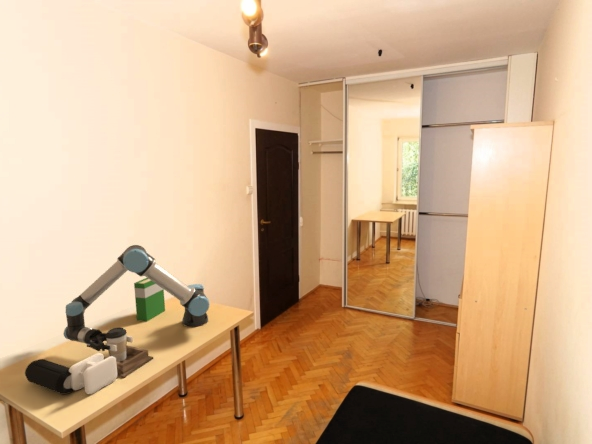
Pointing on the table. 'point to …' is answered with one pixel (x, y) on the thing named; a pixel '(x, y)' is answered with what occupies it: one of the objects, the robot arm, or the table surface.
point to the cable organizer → (93, 373)
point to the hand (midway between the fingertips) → (124, 343)
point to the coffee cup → (117, 343)
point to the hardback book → (148, 299)
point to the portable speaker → (49, 375)
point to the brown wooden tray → (132, 361)
